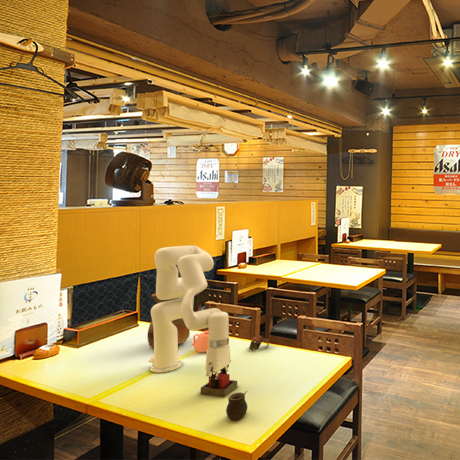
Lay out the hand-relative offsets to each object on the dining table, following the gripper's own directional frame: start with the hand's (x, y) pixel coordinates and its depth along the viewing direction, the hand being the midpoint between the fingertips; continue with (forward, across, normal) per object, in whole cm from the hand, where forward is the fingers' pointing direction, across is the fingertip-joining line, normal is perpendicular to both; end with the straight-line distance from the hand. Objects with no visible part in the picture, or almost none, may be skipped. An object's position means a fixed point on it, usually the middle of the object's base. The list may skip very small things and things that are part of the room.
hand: (219, 384), depth 153 cm
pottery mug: (+3, -45, -9) cm, 46 cm away
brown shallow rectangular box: (+3, 0, 0) cm, 3 cm away
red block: (0, 0, 0) cm, 0 cm away
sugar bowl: (+3, -38, -36) cm, 52 cm away
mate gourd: (+3, +16, +19) cm, 25 cm away
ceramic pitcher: (+3, -40, -60) cm, 72 cm away
